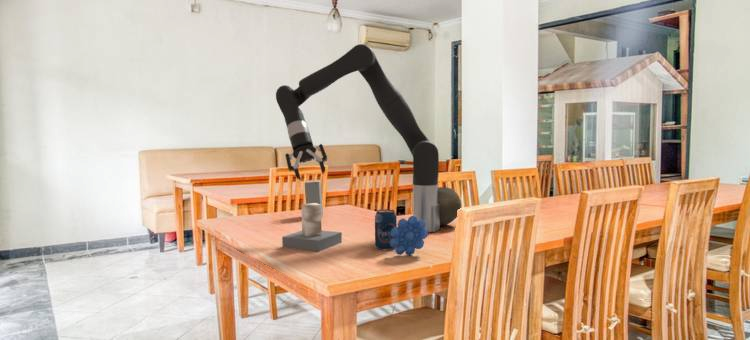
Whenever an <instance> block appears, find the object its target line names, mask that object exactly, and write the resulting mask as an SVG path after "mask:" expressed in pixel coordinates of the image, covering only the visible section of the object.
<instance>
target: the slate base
mask: <svg viewBox="0 0 750 340" xmlns="http://www.w3.org/2000/svg"><path fill="white" fill-rule="evenodd" d="M321 232H322V235H316V236H305V235H303V234H302V230H299V231H297V232H293V233H290V234H287V235H283V236H282V238H281V239H282V241H281V243H282V248H284V249H294V250H301V251H311V252H312V251H313V252H322V251H324V250H326V249H329V248H331V247H335V246H336V245H339V244H342V243H343V241H342V235H343V233H342V232H341V231H340V232H339V231H330V230H321Z"/></svg>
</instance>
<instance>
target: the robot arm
mask: <svg viewBox="0 0 750 340" xmlns="http://www.w3.org/2000/svg"><path fill="white" fill-rule="evenodd" d="M380 64H381V63H379V61H378V58H377V56H376V54H375V52H374V50H373V49H372V48H371V47H370V46H369V45H366V44H364V43H362V44H357V45H355V46H353V47H352V48H351V49H350V50H347V52H346V53H344V54H343V55H342V56H341V57H339V58H338V59H336V60H335V61H333V62H331V63H329V64H328V65H326V66H324V67H322V68H320V69H318V70H316V71H314V72H313V73H311V74H309V75H307V76H305V77H303V78H302V79H300V80H299V82H298V87H297V88H295V89H293V87H291V86H290V85H280V86H279V87H278V88H277V90H276V91H275V100H276V103H277V105H278V107H279V110H280V111H281V113H282V115H283V118H284V122H285V124H286V130H287V135H288V139H289V141H290V144H291V148H292V153H290V154H289V153H285V160H286V163H287V164H286V165H287V168H288V171H289V172H294V175H295V178H296V179H297V180H298V181H302V178H301V174H300V172H299V167H300V166H301V164H302V163H303V164H304V163H306V162H311V161H312V160H314V161H316V163H319V164H318V165H319V168H320V171H321V174H322V175H323V174H325V172H326V167H325V164H324V163H325V162H328V156H327V153H326V151H325V149H324V146H323V144H322V143H320V144H319V145H318V146H314V143H313V140H312V136H311V133H310V130H309V128H308V125H307V121H306V120H305V116H304V113H303V110H301V108H300V107H301V105H302V104H305V102H306V101H307V100H308V99H309V98H310V97H312V96H313V95H316V94H318V93H319V92H321V91H323V90H325V89H326V88H328V87H330V85H332V84H333V83H336V82H337V81H338V80H339V79H342V78H343V77H345V76H347V75H350V74H352V73H355V72H357V71H358V72H359V74H360V75H361V76H362V77H363V79H364V80H365V81H366V82H367V84H368V86H369V88H370V89H371V91H372V94H373V97H374V99H375V101H376V103H377V105H378V106H379V108H380V110H381V111H382V113H383V115H384V116H385V117H386V119H387V120H388V121H389V123H390V124H391V126H393V128H394V129H395V130H396V131H397V133H398V134H399V135H400V136H401V137H402V138H403V141H404V143H405V144H406V146H407V148H408V150H409V152H410V153H411V156H412V162H413V164H412V165H413V166H412V167H413V170H412V171H413V174H412V216H416V217H417V222H418V221H419V220H424V221H425V224H426V225H425V227H424V228H423V229H426V230H427V231H428V233H435V232H437V231H439V230H441V228H440V227H441V226H440V205H439V204H438V188H439V186H438V185H439V184H438V183H439V170H440V169H439V163H440V161H439V159H440V158H439V156H440V155H439V154H440V153H439V150H438V148H437V146H436V145H435V144H434V143H433V142H431V141H430V140H429V139H428V137H427V136H426V134H424V132H423V131H422V130H421V128H420V126H419V124H418V122H417V120H416V117H415V116H414V114H413V111H412V110H411V107H410V106H409V104H408V103H407V101H406V99H405V98H404V96H403V95H402V93H401V92H400V91H399V90H398V88H397V86H396V85H395V84H394V83H393V81H392V80H391V79H390V77H388V76H387V75H386V74H387V73H385V71H384V70H383V68H382V66H381V65H380ZM317 151H318V152H319V153H320V154H321V156H322V158H321V157H320V156H319V155H318V154H316V152H317ZM293 158H294V159H295V163H294V165H293V166H292V162H291V161H292V160H293Z"/></svg>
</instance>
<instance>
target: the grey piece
mask: <svg viewBox="0 0 750 340" xmlns="http://www.w3.org/2000/svg"><path fill="white" fill-rule="evenodd" d="M301 231H302V234H303V235H305V236H316V235H322V232H321V231H322V217H321V204H318V203H308V204H306V203H301Z"/></svg>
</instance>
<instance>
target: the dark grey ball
mask: <svg viewBox="0 0 750 340" xmlns="http://www.w3.org/2000/svg"><path fill="white" fill-rule="evenodd" d="M438 204H439V205H440V227H441V226H446V225H449V224H450V223H452V222H453V221H454V220H456V219H457V218H458V216H457V210H458V209H460V208H461V209H462V200H461V199H460V196H459V194H458V193H457V192H456V191H455V190H454V189H453V188H450V187H444V186H443V187H442V186H440V187H439V186H438Z"/></svg>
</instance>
